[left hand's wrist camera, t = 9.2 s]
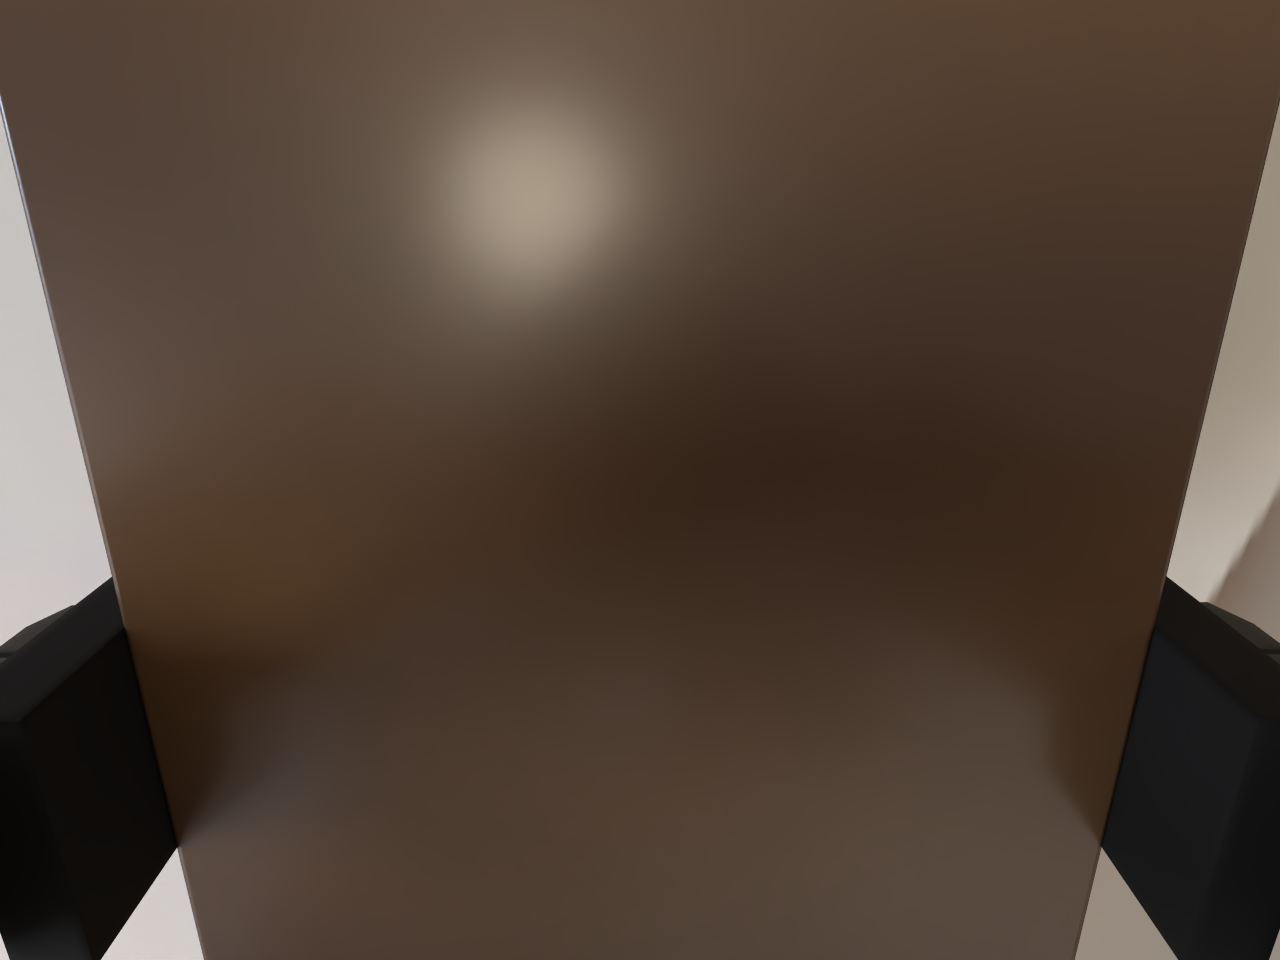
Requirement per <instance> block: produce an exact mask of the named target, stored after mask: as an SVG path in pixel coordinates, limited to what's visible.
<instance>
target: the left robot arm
mask: <svg viewBox="0 0 1280 960" xmlns="http://www.w3.org/2000/svg"><path fill="white" fill-rule="evenodd" d="M176 848H177V845H176V840H175V836H174V832H173V828H172V824H171V820H170V815H169V811H168V807H167V803H166V799H165V795H164V790H163V786H162V782H161V778H160V774H159V770H158V765H157V761H156V757H155V753H154V749H153V745H152V740H151V736H150V732H149V728H148V724H147V720H146V715H145V711H144V707H143V703H142V699H141V695H140V690H139V686H138V682H137V678H136V674H135V670H134V665H133V661H132V657H131V653H130V649H129V645H128V640H127V636H126V632H125V628H124V624H123V619H122V615H121V611H120V607H119V603H118V599H117V594H116V590H115V586H114V582H113V578H112V577H111V578H110V579H108V580H107V581H106V582H105V583H103V584H102V585H101V586H99V587H98V588H97V589H96V590H94V591H93V592H92V593H90V594H89V595H88V596H87V597H85V598H84V599H83V600H81V601H80V602H79V603H78V604H76V605H72V606H70V607H68V608H66V609H63V610H61V611H59V612H57V613H55V614H53V615H51V616H49V617H46V618H44V619H42V620H40V621H38V622H36V623H34V624H32V625H30V626H27V627H26V628H24V629H23V630H22V631H20V632H19V633H18V634H16V635H15V636H14V637H12V638H11V639H10V640H8V641H7V642H6V643H4V644H3V645H2V646H0V933H1V936H2V939H3V942H4V944H5V947H6V950H7V953H8V956H9V959H10V960H101V959H102V957H103V956H104V954H105V953H106V951H107V950H108V948H109V947H110V945H111V944H112V942H113V941H114V939H115V938H116V936H117V935H118V933H119V932H120V931H121V929H122V928H123V926H124V925H125V923H126V922H127V920H128V919H129V917H130V916H131V914H132V913H133V911H134V910H135V908H136V907H137V906H138V904H139V903H140V901H141V900H142V898H143V897H144V895H145V894H146V892H147V891H148V889H149V888H150V886H151V885H152V883H153V882H154V881H155V879H156V878H157V876H158V875H159V873H160V872H161V870H162V869H163V867H164V866H165V864H166V863H167V861H168V860H169V858H170V857H171V856H172V854H173V853H174V851H175V850H176ZM1102 848H1103V849H1104V851H1105V853H1106V854H1107V855H1108V857H1109V858H1110V860H1111V861H1112V863H1113V864H1114V866H1115V867H1116V869H1117V870H1118V872H1119V873H1120V875H1121V876H1122V877H1123V879H1124V880H1125V882H1126V883H1127V885H1128V886H1129V888H1130V889H1131V891H1132V892H1133V894H1134V895H1135V897H1136V898H1137V900H1138V901H1139V903H1140V904H1141V905H1142V907H1143V908H1144V910H1145V911H1146V913H1147V914H1148V916H1149V917H1150V919H1151V920H1152V922H1153V923H1154V925H1155V926H1156V928H1157V929H1158V930H1159V932H1160V933H1161V935H1162V936H1163V938H1164V939H1165V941H1166V942H1167V944H1168V945H1169V947H1170V948H1171V950H1172V951H1173V953H1174V954H1175V956H1176V957H1177V958H1178V960H1269V958H1270V955H1271V952H1272V949H1273V947H1274V944H1275V941H1276V938H1277V935H1278V932H1279V930H1280V643H1279V642H1277V641H1276V640H1275V639H1273V638H1272V637H1271V636H1269V635H1268V634H1266V633H1265V632H1264V631H1262V630H1261V629H1260V628H1258V627H1257V626H1256V625H1254V624H1253V623H1251V622H1248V621H1246V620H1244V619H1242V618H1240V617H1238V616H1236V615H1234V614H1231V613H1229V612H1227V611H1225V610H1223V609H1221V608H1219V607H1217V606H1214V605H1212V604H1210V603H1208V602H1199V601H1198V600H1196V599H1195V598H1194V597H1192V596H1191V595H1190V594H1189V593H1187V592H1186V591H1185V590H1183V589H1182V588H1181V587H1179V586H1178V585H1177V584H1176V583H1174V582H1173V581H1172V580H1170V579H1169V578H1168V577H1167V576H1166V579H1165V583H1164V587H1163V592H1162V596H1161V600H1160V604H1159V608H1158V612H1157V617H1156V621H1155V625H1154V629H1153V633H1152V638H1151V642H1150V646H1149V650H1148V654H1147V658H1146V663H1145V667H1144V671H1143V675H1142V679H1141V684H1140V688H1139V692H1138V696H1137V700H1136V705H1135V709H1134V713H1133V717H1132V721H1131V725H1130V730H1129V734H1128V738H1127V742H1126V746H1125V751H1124V755H1123V759H1122V763H1121V767H1120V772H1119V776H1118V780H1117V784H1116V788H1115V792H1114V797H1113V801H1112V805H1111V809H1110V813H1109V818H1108V822H1107V826H1106V830H1105V834H1104V838H1103V843H1102Z"/></svg>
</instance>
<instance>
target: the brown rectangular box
mask: <svg viewBox="0 0 1280 960" xmlns="http://www.w3.org/2000/svg"><path fill="white" fill-rule="evenodd" d="M1279 102H1280V0H0V111H1V115H2V119H3V123H4V128H5V132H6V136H7V140H8V144H9V148H10V153H11V157H12V161H13V165H14V169H15V173H16V178H17V182H18V186H19V190H20V194H21V198H22V203H23V207H24V211H25V215H26V219H27V223H28V228H29V232H30V236H31V240H32V244H33V248H34V253H35V257H36V261H37V265H38V269H39V273H40V278H41V282H42V286H43V290H44V294H45V298H46V303H47V307H48V311H49V315H50V319H51V324H52V328H53V332H54V336H55V340H56V344H57V349H58V353H59V357H60V361H61V365H62V369H63V374H64V378H65V382H66V386H67V390H68V394H69V399H70V403H71V407H72V411H73V415H74V419H75V424H76V428H77V432H78V436H79V440H80V444H81V449H82V453H83V457H84V461H85V465H86V469H87V474H88V478H89V482H90V486H91V490H92V494H93V499H94V503H95V507H96V511H97V515H98V519H99V524H100V528H101V532H102V536H103V540H104V544H105V549H106V553H107V557H108V561H109V565H110V569H111V574H112V578H113V582H114V586H115V590H116V594H117V599H118V603H119V607H120V611H121V615H122V619H123V624H124V628H125V632H126V636H127V640H128V645H129V649H130V653H131V657H132V661H133V665H134V670H135V674H136V678H137V682H138V686H139V690H140V695H141V699H142V703H143V707H144V711H145V715H146V720H147V724H148V728H149V732H150V736H151V740H152V745H153V749H154V753H155V757H156V761H157V765H158V770H159V774H160V778H161V782H162V786H163V790H164V795H165V799H166V803H167V807H168V811H169V815H170V820H171V824H172V828H173V832H174V836H175V840H176V845H177V849H178V853H179V857H180V861H181V865H182V870H183V874H184V878H185V882H186V886H187V890H188V895H189V899H190V903H191V907H192V911H193V915H194V920H195V924H196V928H197V932H198V936H199V940H200V945H201V949H202V953H203V957H204V960H1075V956H1076V951H1077V947H1078V943H1079V939H1080V935H1081V930H1082V926H1083V922H1084V918H1085V914H1086V910H1087V905H1088V901H1089V897H1090V893H1091V889H1092V885H1093V880H1094V876H1095V872H1096V868H1097V863H1098V859H1099V855H1100V851H1101V847H1102V843H1103V838H1104V834H1105V830H1106V826H1107V822H1108V818H1109V813H1110V809H1111V805H1112V801H1113V797H1114V792H1115V788H1116V784H1117V780H1118V776H1119V772H1120V767H1121V763H1122V759H1123V755H1124V751H1125V746H1126V742H1127V738H1128V734H1129V730H1130V725H1131V721H1132V717H1133V713H1134V709H1135V705H1136V700H1137V696H1138V692H1139V688H1140V684H1141V679H1142V675H1143V671H1144V667H1145V663H1146V658H1147V654H1148V650H1149V646H1150V642H1151V638H1152V633H1153V629H1154V625H1155V621H1156V617H1157V612H1158V608H1159V604H1160V600H1161V596H1162V592H1163V587H1164V583H1165V579H1166V575H1167V571H1168V566H1169V562H1170V558H1171V554H1172V550H1173V545H1174V541H1175V537H1176V533H1177V529H1178V525H1179V520H1180V516H1181V512H1182V508H1183V504H1184V499H1185V495H1186V491H1187V487H1188V483H1189V479H1190V474H1191V470H1192V466H1193V462H1194V458H1195V453H1196V449H1197V445H1198V441H1199V437H1200V432H1201V428H1202V424H1203V420H1204V416H1205V412H1206V407H1207V403H1208V399H1209V395H1210V391H1211V386H1212V382H1213V378H1214V374H1215V370H1216V365H1217V361H1218V357H1219V353H1220V349H1221V345H1222V340H1223V336H1224V332H1225V328H1226V324H1227V319H1228V315H1229V311H1230V307H1231V303H1232V299H1233V294H1234V290H1235V286H1236V282H1237V278H1238V273H1239V269H1240V265H1241V261H1242V257H1243V252H1244V248H1245V244H1246V240H1247V236H1248V232H1249V227H1250V223H1251V219H1252V215H1253V211H1254V206H1255V202H1256V198H1257V194H1258V190H1259V186H1260V181H1261V177H1262V173H1263V169H1264V165H1265V160H1266V156H1267V152H1268V148H1269V144H1270V139H1271V135H1272V131H1273V127H1274V123H1275V119H1276V114H1277V110H1278V106H1279Z"/></svg>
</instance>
